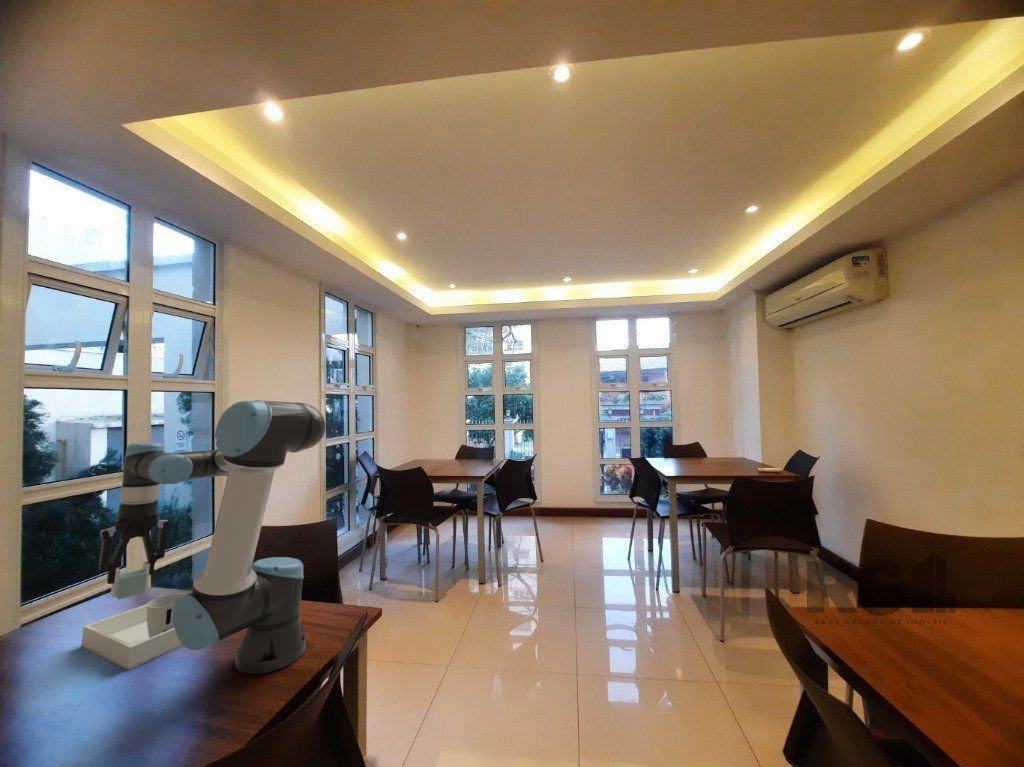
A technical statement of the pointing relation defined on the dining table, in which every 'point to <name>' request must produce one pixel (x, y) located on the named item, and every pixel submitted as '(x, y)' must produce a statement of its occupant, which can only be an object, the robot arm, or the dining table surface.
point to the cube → (131, 583)
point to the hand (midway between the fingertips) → (129, 591)
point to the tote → (127, 639)
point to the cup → (161, 614)
